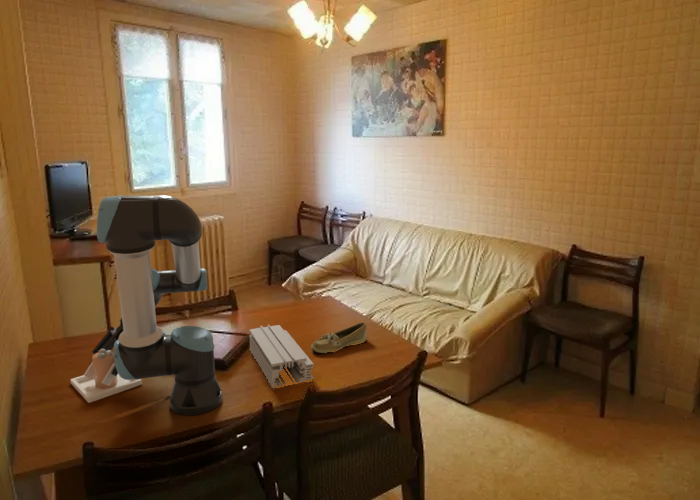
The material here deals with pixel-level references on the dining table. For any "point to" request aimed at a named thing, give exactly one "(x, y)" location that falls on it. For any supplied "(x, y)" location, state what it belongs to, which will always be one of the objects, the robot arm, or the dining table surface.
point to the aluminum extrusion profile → (279, 355)
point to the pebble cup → (103, 367)
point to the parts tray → (92, 393)
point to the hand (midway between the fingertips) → (96, 380)
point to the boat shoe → (341, 339)
